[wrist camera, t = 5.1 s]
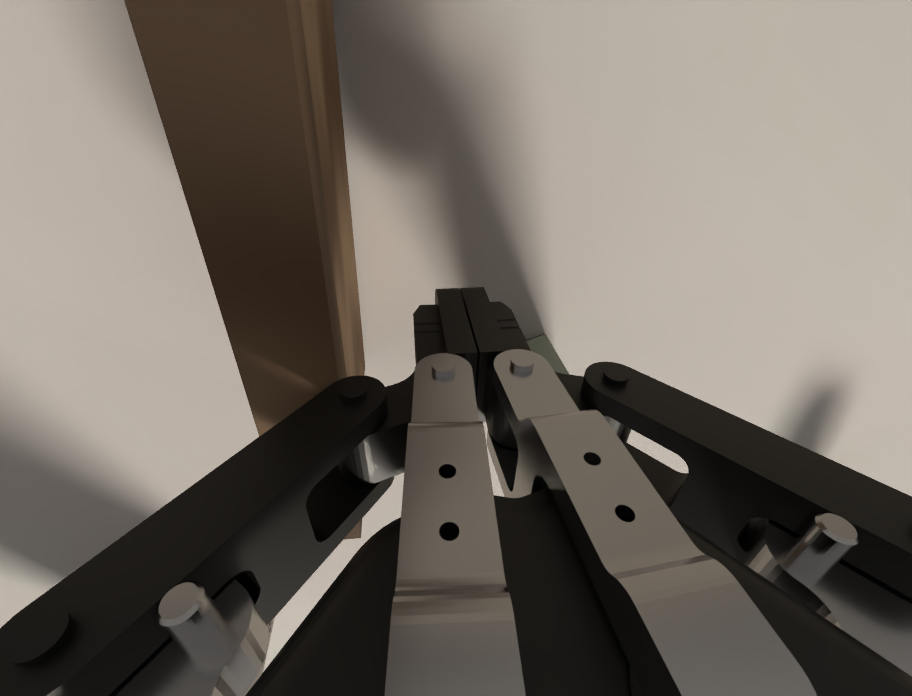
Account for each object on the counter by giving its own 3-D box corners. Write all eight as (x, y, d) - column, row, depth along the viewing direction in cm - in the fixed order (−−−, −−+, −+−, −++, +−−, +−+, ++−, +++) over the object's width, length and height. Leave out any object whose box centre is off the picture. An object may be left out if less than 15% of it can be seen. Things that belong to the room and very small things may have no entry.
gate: (224, -323, 8) (-520, -2088, 1) (318, -305, 8) (42, -1746, 2) (329, 367, 17) (292, 544, 11) (372, 365, 18) (360, 537, 11)
